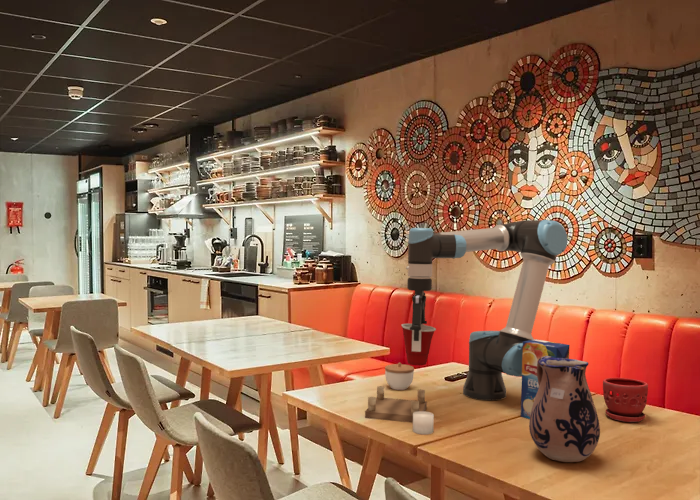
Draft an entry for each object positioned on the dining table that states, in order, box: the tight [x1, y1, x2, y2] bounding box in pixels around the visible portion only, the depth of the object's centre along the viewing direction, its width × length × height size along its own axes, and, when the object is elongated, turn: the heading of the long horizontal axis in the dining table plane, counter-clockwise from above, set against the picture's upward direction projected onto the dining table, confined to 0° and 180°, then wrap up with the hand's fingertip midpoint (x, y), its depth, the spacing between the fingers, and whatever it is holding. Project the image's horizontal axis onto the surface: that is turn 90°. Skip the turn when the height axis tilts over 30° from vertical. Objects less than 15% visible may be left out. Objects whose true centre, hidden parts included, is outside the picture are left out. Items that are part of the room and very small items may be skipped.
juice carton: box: [520, 338, 570, 420], centre depth 193 cm, size 12×8×24 cm, turn 41°
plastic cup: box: [401, 323, 437, 366], centre depth 191 cm, size 11×11×12 cm
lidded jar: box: [384, 362, 415, 391], centre depth 228 cm, size 11×11×9 cm
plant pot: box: [602, 377, 649, 423], centre depth 195 cm, size 13×13×12 cm
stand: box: [364, 385, 428, 423], centre depth 197 cm, size 17×17×6 cm
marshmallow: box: [412, 410, 435, 435], centre depth 179 cm, size 6×6×5 cm
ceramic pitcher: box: [528, 356, 601, 463], centre depth 162 cm, size 18×21×25 cm
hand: (418, 347), depth 192 cm, fingers closed on plastic cup, 11 cm apart
